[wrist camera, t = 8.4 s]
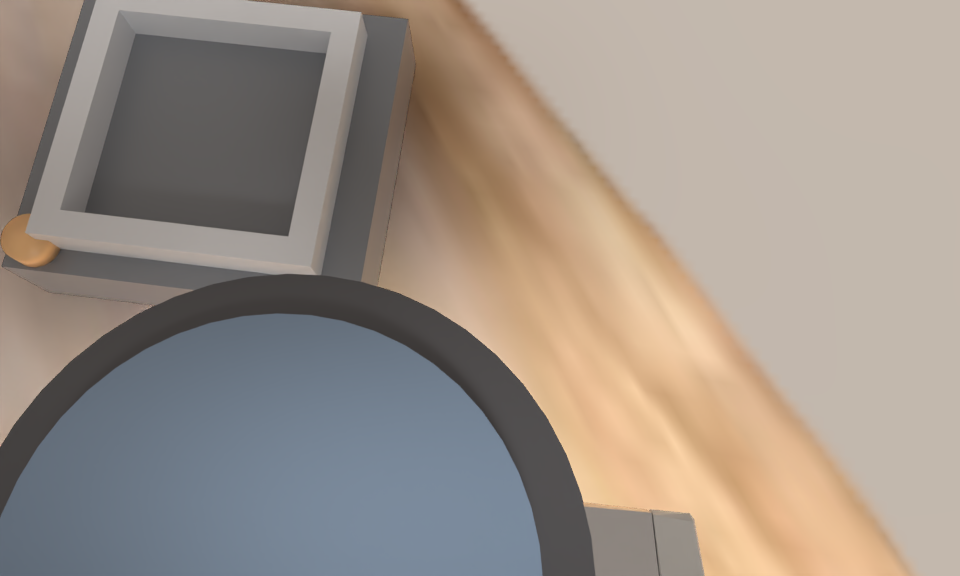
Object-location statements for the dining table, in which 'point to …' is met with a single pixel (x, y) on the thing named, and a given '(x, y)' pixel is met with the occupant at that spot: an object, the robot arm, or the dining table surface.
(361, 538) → the lens
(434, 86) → the dining table surface
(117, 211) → the dock
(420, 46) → the dining table surface
